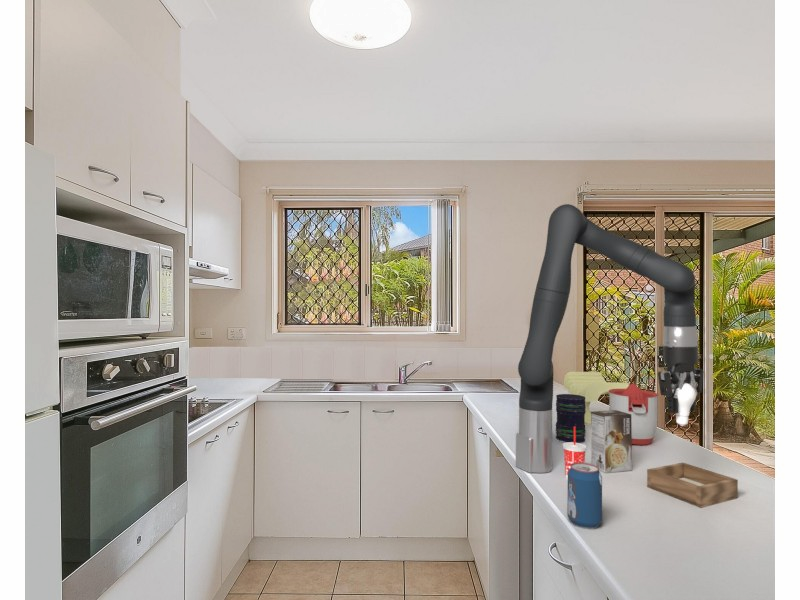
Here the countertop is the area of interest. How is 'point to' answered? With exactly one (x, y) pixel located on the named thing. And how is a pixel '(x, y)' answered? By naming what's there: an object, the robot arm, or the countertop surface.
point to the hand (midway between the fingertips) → (681, 411)
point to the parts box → (692, 484)
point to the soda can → (584, 495)
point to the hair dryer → (589, 387)
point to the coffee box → (611, 441)
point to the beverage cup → (573, 453)
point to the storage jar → (570, 417)
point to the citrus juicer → (637, 411)
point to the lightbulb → (684, 403)
